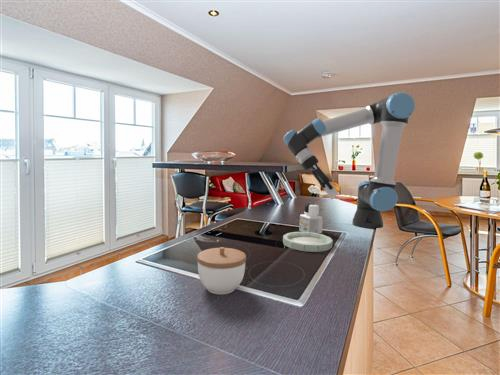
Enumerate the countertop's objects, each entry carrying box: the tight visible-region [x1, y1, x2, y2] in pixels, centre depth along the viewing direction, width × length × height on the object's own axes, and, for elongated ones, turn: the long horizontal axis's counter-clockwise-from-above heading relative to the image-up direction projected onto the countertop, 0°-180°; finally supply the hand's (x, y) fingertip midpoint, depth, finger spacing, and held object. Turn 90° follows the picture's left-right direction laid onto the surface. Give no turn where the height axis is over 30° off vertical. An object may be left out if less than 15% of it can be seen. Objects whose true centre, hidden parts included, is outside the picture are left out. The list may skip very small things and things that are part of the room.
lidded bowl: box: [196, 246, 247, 296], centre depth 80 cm, size 13×13×11 cm
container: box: [298, 203, 324, 234], centre depth 142 cm, size 8×8×13 cm
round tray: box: [282, 231, 334, 253], centre depth 123 cm, size 19×19×2 cm
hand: (335, 197), depth 138 cm, fingers open, 13 cm apart
